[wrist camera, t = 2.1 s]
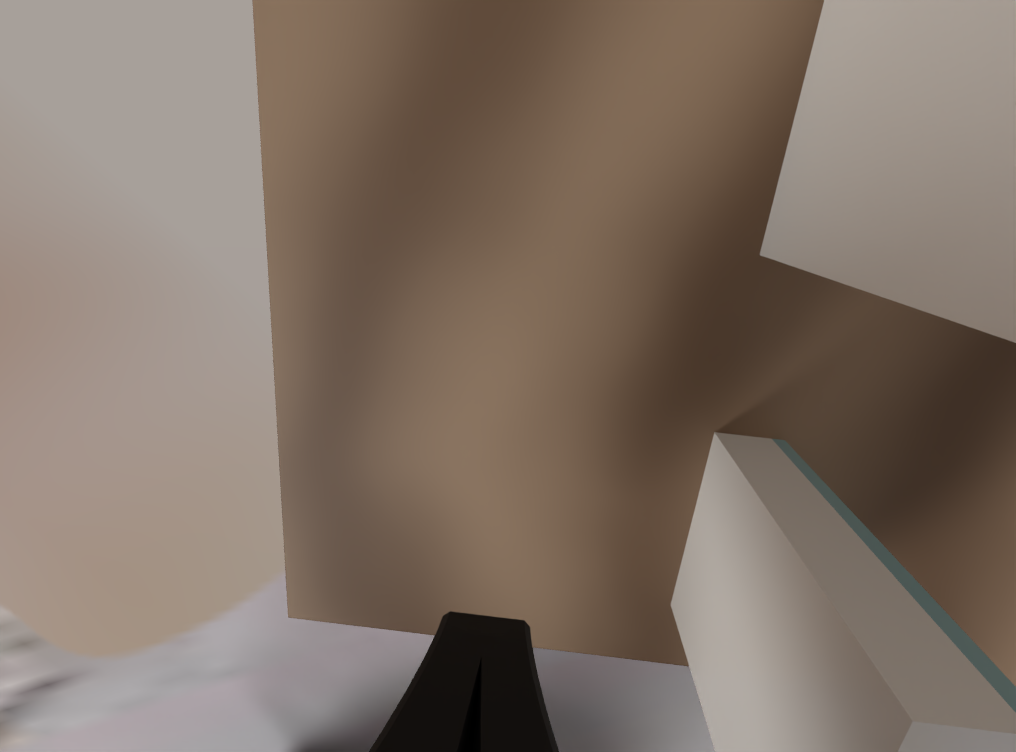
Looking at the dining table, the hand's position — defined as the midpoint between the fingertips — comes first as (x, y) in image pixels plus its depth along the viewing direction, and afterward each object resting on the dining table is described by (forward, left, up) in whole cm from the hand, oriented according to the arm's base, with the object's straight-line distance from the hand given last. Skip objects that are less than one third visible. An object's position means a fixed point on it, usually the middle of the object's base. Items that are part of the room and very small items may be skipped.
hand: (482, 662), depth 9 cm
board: (-4, -5, -6) cm, 9 cm away
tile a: (-5, 0, -5) cm, 7 cm away
